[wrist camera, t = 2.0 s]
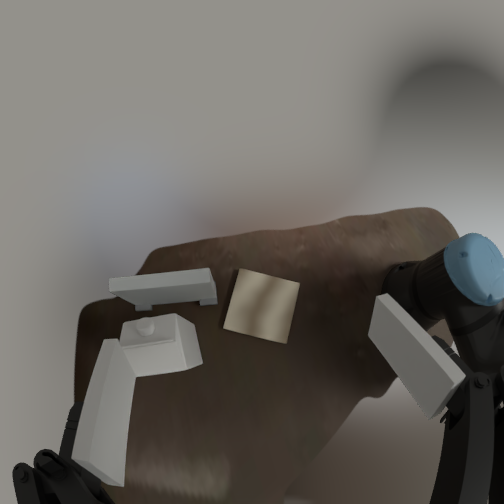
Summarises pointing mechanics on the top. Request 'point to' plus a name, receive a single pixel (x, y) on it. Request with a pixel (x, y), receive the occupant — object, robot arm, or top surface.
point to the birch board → (262, 306)
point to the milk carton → (160, 345)
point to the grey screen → (166, 288)
